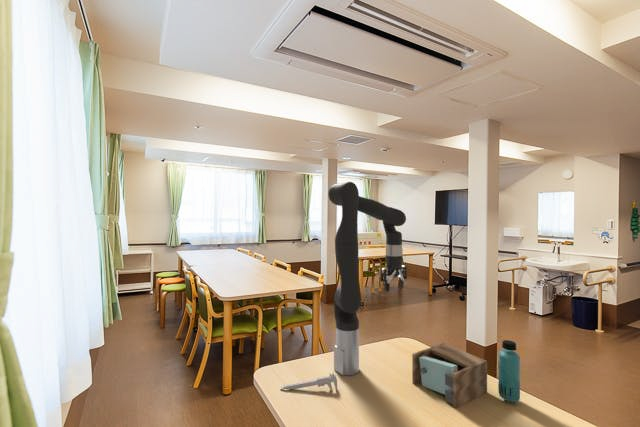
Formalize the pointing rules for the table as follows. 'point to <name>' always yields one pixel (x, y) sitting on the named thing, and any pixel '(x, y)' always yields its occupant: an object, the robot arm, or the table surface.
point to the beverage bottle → (509, 372)
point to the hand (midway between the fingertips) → (394, 290)
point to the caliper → (315, 383)
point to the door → (436, 373)
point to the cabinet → (456, 373)
